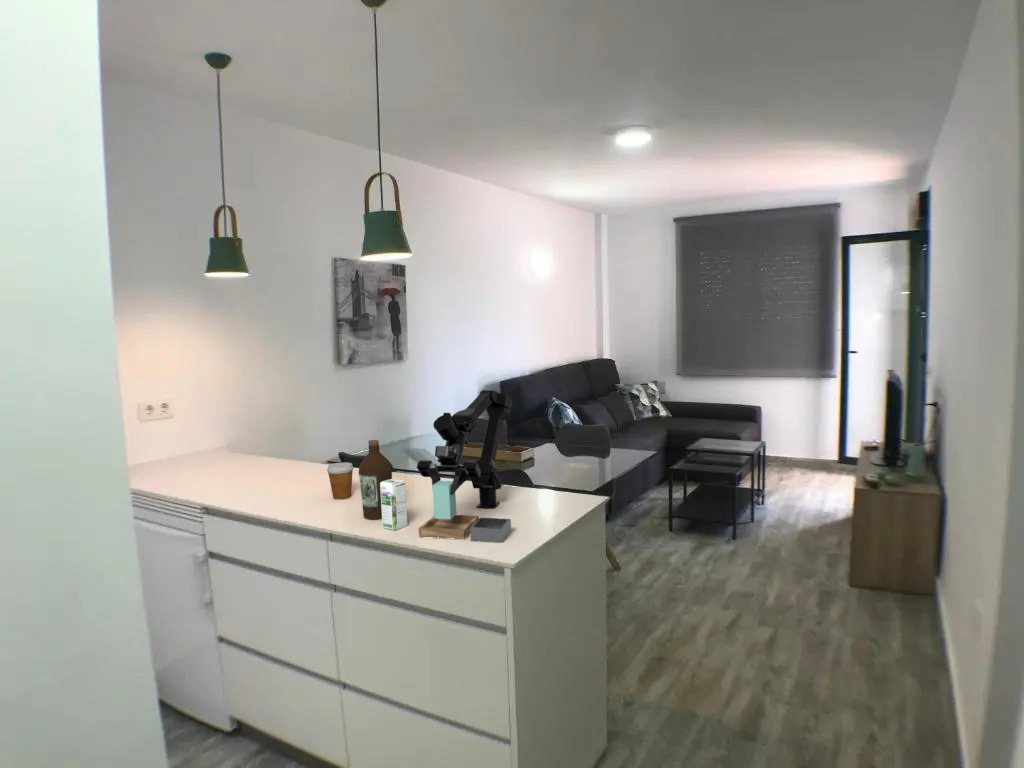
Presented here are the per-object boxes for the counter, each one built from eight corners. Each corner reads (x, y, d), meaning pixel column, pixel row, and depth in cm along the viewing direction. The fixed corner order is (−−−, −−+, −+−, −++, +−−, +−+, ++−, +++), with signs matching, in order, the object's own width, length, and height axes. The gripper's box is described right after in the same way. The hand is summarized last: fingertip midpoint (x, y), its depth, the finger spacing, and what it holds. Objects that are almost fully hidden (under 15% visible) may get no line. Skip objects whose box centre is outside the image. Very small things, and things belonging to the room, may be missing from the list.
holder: (481, 530, 201) (480, 517, 201) (511, 532, 199) (510, 518, 198) (470, 541, 192) (470, 527, 192) (502, 542, 190) (501, 529, 189)
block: (440, 513, 202) (439, 480, 201) (456, 514, 200) (454, 481, 199) (434, 518, 197) (432, 485, 196) (450, 519, 196) (448, 485, 194)
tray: (437, 522, 211) (436, 513, 210) (479, 524, 207) (479, 515, 206) (419, 537, 197) (418, 528, 197) (464, 539, 193) (463, 530, 193)
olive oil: (376, 509, 228) (371, 436, 225) (401, 512, 223) (396, 438, 220) (354, 518, 219) (349, 442, 216) (380, 522, 213) (375, 444, 211)
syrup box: (381, 528, 207) (378, 482, 206) (395, 522, 212) (392, 478, 211) (395, 531, 204) (392, 484, 202) (408, 525, 209) (405, 479, 207)
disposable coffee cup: (323, 498, 245) (321, 465, 244) (346, 492, 252) (344, 461, 251) (337, 502, 239) (335, 469, 237) (360, 496, 245) (358, 464, 244)
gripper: (417, 434, 202) (403, 479, 193) (475, 434, 197) (465, 480, 188) (428, 454, 211) (416, 498, 201) (485, 455, 206) (475, 500, 196)
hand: (442, 494), depth 197 cm, fingers closed on block, 5 cm apart
